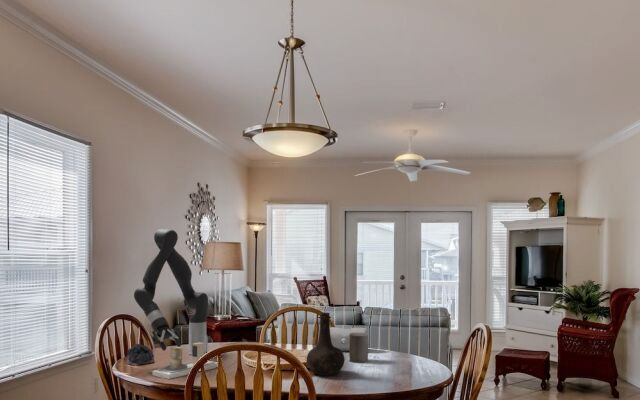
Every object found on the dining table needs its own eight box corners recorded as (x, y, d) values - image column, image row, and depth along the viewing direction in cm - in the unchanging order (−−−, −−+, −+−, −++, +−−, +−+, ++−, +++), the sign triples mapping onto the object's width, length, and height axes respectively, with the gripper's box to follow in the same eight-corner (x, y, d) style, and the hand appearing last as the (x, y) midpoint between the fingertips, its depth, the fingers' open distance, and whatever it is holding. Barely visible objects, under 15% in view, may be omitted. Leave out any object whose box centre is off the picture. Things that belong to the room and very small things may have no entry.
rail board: (202, 363, 290) (203, 339, 291) (218, 367, 283) (219, 342, 284) (152, 375, 267) (152, 348, 267) (168, 379, 259) (169, 352, 260)
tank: (320, 353, 315) (320, 330, 316) (325, 347, 331) (325, 325, 332) (366, 354, 311) (366, 331, 312) (368, 349, 327) (368, 326, 328)
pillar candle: (346, 362, 293) (346, 332, 294) (352, 358, 302) (352, 329, 303) (364, 363, 289) (364, 333, 290) (370, 359, 298) (370, 330, 299)
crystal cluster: (153, 366, 289) (155, 346, 291) (125, 365, 285) (127, 345, 287) (153, 362, 302) (155, 343, 303) (126, 362, 298) (128, 342, 300)
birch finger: (177, 367, 273) (177, 346, 274) (182, 368, 271) (182, 347, 271) (169, 369, 269) (170, 347, 270) (174, 370, 267) (174, 348, 268)
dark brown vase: (333, 380, 257) (333, 316, 258) (299, 375, 265) (299, 314, 267) (351, 371, 272) (350, 311, 274) (318, 367, 281) (318, 309, 283)
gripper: (148, 318, 274) (163, 345, 266) (173, 314, 285) (188, 340, 277) (142, 328, 277) (156, 355, 269) (166, 324, 288) (181, 350, 280)
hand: (172, 348), depth 273 cm, fingers open, 8 cm apart
